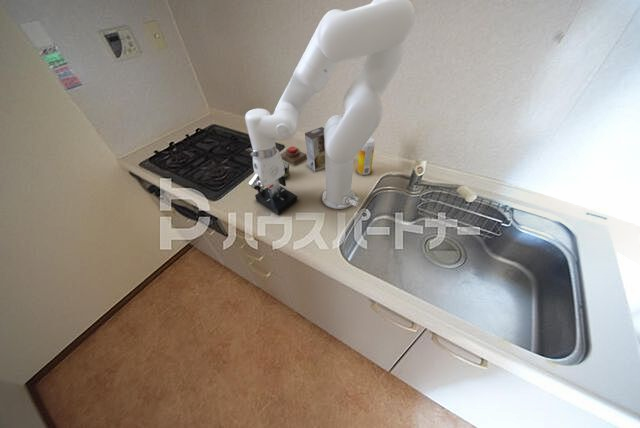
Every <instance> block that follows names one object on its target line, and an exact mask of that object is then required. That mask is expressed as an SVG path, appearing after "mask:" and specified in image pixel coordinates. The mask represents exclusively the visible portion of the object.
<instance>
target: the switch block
mask: <svg viewBox="0 0 640 428" xmlns="http://www.w3.org/2000/svg"><path fill="white" fill-rule="evenodd" d="M280 155H281V157H282V160H284V161H286V162H288V163H289V164H291V165H292V166H297V165H298V164H300V163H302V162H303V161H305V160H306V159H307V153H304V152H302V151H301V150H300V149H299V148H298V147H296V153H289V150H288V148H287V149H285V151H283V152H282V153H280Z"/></svg>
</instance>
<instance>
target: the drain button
mask: <svg viewBox="0 0 640 428" xmlns="http://www.w3.org/2000/svg"><path fill="white" fill-rule="evenodd" d="M296 148H297V147H296V146H289V147H288V148H287V149H288V150H289V153H296Z"/></svg>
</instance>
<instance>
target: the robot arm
mask: <svg viewBox="0 0 640 428" xmlns="http://www.w3.org/2000/svg"><path fill="white" fill-rule="evenodd" d="M415 19H416V12H415V9H414V6H413V3H412V2H411V0H372V1H371V2H370V3H368V4H365V5H362V6H357V7H356V8H355V7H354V8H352V9H347V10H342V9H339V8H335V9H334V8H333V9H331V10H329V11H327V12H326V13H325V14H324V15H323V16H322V18H321V20H320V21H319V23H318V25H317V26H316V29H315V31H314V33H313V34H312V36H311V39H310V40H309V42H308V45H307V46H306V48H305V50H304V52H303V54H302V56H301V57H300V60H299V61H298V63H297V65H296V67H295V69H294V71H293V73H292V76H291V78H290V80H289V82H288V84H287V85H286V87H285V89H284V91H283V93H282V94H281V96H280V99H279V100H278V102H277V104H276V106H275V109H274V111H273V113H272V114H271V113H270V111H269V110H267V109H265V108H253V109H250V110H248V111H247V112H246V113H245V115H244V120H245V125H246V128H247V132H248V137H249V141H250V144H251V150H252V151H251V152H250V156H251V158H252V167H253V173H254V176H253V177H252V178H251V180H250V181H249V182H248V185H249V186H250V187H251V188H252V189H254V190H255V191H257V194H258V193H259V196H260V197H262V198H264V199H266V193H265V190H264V189H265V187H267V185H269V184H271V183H272V182H274V181H277V180H278V183H279V185H280V186H282V187H286V186H287V183H286V182H287V181H286V177H287V176H286V172H287V168H288V163H289V162H286V161H282V157H281V155H280V154H281V153H280V150H279V149H278V148H277V144H276V140H280V141H288V140H291V139H293V138H294V137H295V135H296V134H297V130H298V120H299V117H300V115H301V113H302V112H303V110H304V108H305V107H306V105H307V104H308V102H309V101H310V99H311V98H312V97H313V96H314V95H316V94H318V93H320V92H321V91H322V90H324V88H325V87H326V85H327V83H328V81H329V80H330V78H331V77H332V75H333V73H334V72H335V70H336V69H337V67H338V65H339V64H340V63H342V62H347V61H351V60H357V59H360V58H364V57H365V60H364V62H363V64H362V66H360V69H359V70H358V72H357V74H356V76H355V77H354V79H353V81H352V82H351V84H350V86H349V88H348V89H347V91H346V92H345V94H344V97H343V110H344V113H343V114H334V115H333V116H331V117H330V118H329V119H327V121H326V122H325V125H324V127H323V128H324V144H325V168H324V169H325V171H324V172H325V190H324V191H323V193H322V196H321V197H322V198H321V199H322V202H323V204H324V205H325V206H326V207H328V208H330V209H335V210H343V209H346V208H347V209H348V208H349V207H351V206H353V207H355V208H357V207H358V205H359V201H360V197H358V196H356V195H355V192H354V191H355V190H354V189H352V185H353V169H354V168H353V167H354V159H355V158H356V157H357V156H358V153H359V152H360V150H361V149H362V148H363V146H364V145H365V144H366V142H367V141H368V140H369V138H370V137H371V138H372V136H373V134H374V133H375V131H376V130H377V128H378V127H379V125H380V123H381V121H382V118H383V113H384V107H383V102H382V100H381V98H382V96H383V95H384V93H385V92H386V90H387V88H388V87H389V85H390V84H391V82H392V80H393V78H394V77H395V75H396V73H397V72H398V70H399V67H400V65H401V64H402V63H401V62H402V59H403V56H404V51H405V44H406V43H405V41H406V40H407V38H408V37H409V36H410V34H411V33H412V30H413V29H414V24H415ZM285 176H286V177H285Z"/></svg>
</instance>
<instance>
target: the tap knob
mask: <svg viewBox="0 0 640 428" xmlns="http://www.w3.org/2000/svg"><path fill="white" fill-rule="evenodd" d="M280 186H281V184H280V183H279V181H277V180H275V181H274V182H272V183H271V184H269V185H267V186H266V188H267V187H268V190H269V194H270V197H271V198H272V199H277V198H280V197H281V190H280Z"/></svg>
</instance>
